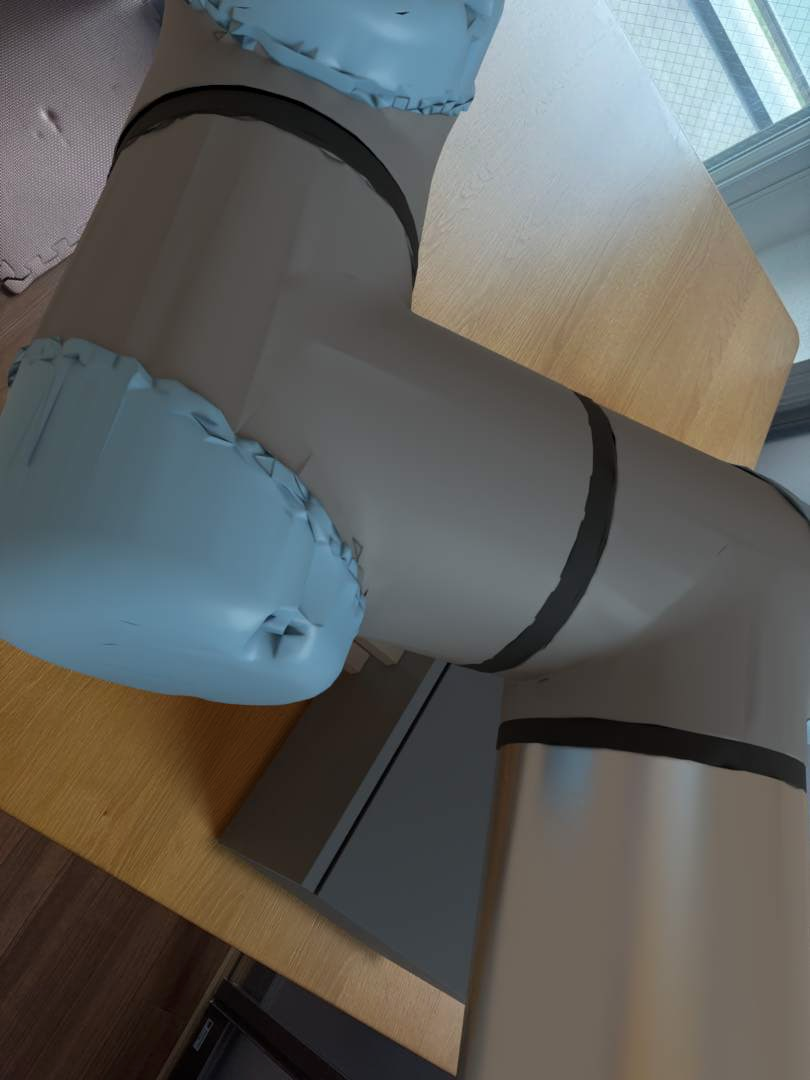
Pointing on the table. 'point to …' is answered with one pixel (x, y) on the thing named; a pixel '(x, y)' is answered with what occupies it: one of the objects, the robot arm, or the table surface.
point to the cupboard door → (332, 762)
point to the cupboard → (421, 838)
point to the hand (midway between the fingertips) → (193, 521)
